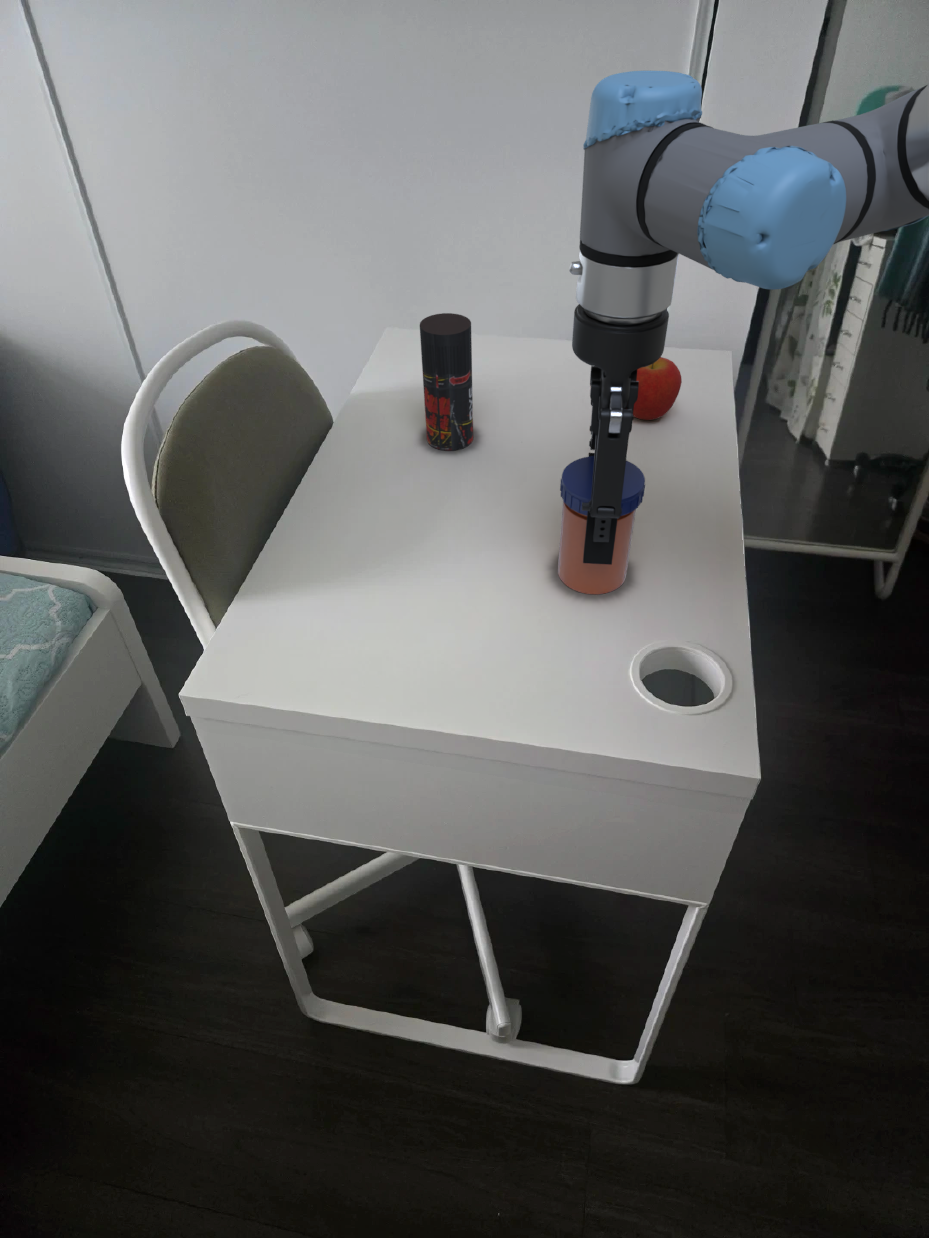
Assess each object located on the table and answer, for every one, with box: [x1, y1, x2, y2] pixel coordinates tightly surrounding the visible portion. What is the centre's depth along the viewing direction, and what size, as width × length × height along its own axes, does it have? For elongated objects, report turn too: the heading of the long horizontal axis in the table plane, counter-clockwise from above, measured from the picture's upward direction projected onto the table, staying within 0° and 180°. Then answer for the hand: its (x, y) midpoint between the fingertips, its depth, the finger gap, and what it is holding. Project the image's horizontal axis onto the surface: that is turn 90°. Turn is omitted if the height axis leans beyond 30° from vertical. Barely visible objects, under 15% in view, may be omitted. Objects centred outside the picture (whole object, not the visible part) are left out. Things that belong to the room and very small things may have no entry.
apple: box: [633, 356, 683, 421], centre depth 104 cm, size 8×8×8 cm
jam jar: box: [557, 500, 637, 595], centre depth 80 cm, size 7×7×11 cm
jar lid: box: [559, 455, 646, 516], centre depth 76 cm, size 8×8×2 cm
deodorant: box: [419, 312, 474, 452], centre depth 98 cm, size 6×6×15 cm
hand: (597, 534), depth 80 cm, fingers closed on jar lid, 8 cm apart
